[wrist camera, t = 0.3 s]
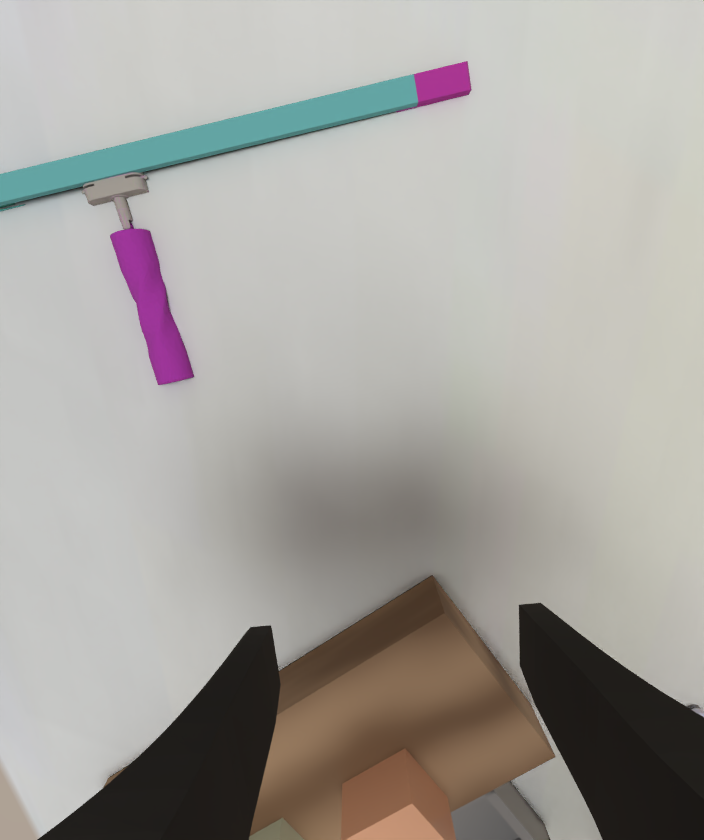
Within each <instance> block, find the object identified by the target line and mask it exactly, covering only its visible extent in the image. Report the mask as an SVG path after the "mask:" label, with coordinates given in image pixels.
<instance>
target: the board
mask: <svg viewBox="0 0 704 840" xmlns="http://www.w3.org/2000/svg"><path fill="white" fill-rule="evenodd" d="M279 677H280V683H281V686H280V694H279V702H278V710H277V717H276V724H275V729H274V733H273V738H272V742H271V746H270V750H269V755H268V759H267V763H266V767H265V771H264V776H263V780H262V784H261V788H260V792H259V797H258V801H257V805H256V809H255V813H254V818H253V822H252V827H251V832H250V836H251V835H253V834H255V833H256V832H258V831H260V830H262V829H263V828H265V827H267V826H269V825H270V824H272V823H274V822H276V821H278V820H279V819H281V818H283V819H284V820H285V821H286V822H287V823H288V824H289V825H290V826H291V827H292V828H293V829H294V830H295V831H296V832H297V833H298V834H299V835H300V836H301V837H302V838H303V839H304V840H341V821H342V784H343V783H345V782H346V781H348V780H350V779H352V778H353V777H355V776H357V775H359V774H360V773H362V772H364V771H366V770H368V769H369V768H371V767H373V766H375V765H376V764H378V763H380V762H382V761H383V760H385V759H387V758H389V757H390V756H392V755H394V754H396V753H398V752H399V751H401V750H403V749H406V750H407V751H408V752H409V753H410V754H411V756H412V757H413V758H414V759H415V760H416V761H417V763H418V764H419V765H420V766H421V767H422V768H423V769H424V771H425V772H426V773H427V774H428V775H429V776H430V778H431V779H432V780H433V781H434V782H435V783H436V784H437V786H438V787H439V788H440V789H441V790H442V791H443V793H444V794H445V795H446V796H447V797H448V802H449V807H450V812H453V811H454V810H456V809H458V808H460V807H462V806H464V805H466V804H468V803H469V802H471V801H473V800H475V799H477V798H479V797H481V796H483V795H485V794H486V793H488V792H490V791H492V790H494V789H496V788H498V787H500V786H501V785H503V784H505V783H507V782H509V781H511V780H513V779H515V778H516V777H518V776H520V775H522V774H524V773H526V772H528V771H530V770H531V769H533V768H535V767H537V766H539V765H541V764H543V763H545V762H546V761H548V760H550V759H552V758H554V757H555V754H554V752H553V750H552V748H551V746H550V744H549V742H548V740H547V738H546V736H545V733H544V731H543V729H542V727H541V725H540V723H539V721H538V719H537V717H536V715H535V712H534V710H533V708H532V706H531V704H530V703H529V702H528V700H527V699H526V698H525V696H524V695H523V694H522V692H521V691H520V690H519V688H518V687H517V686H516V684H515V683H514V682H513V681H512V679H511V678H510V677H509V675H508V674H507V673H506V671H505V670H504V669H503V667H502V666H501V665H500V663H499V662H498V661H497V660H496V658H495V657H494V656H493V654H492V653H491V652H490V650H489V649H488V648H487V646H486V645H485V644H484V642H483V641H482V640H481V639H480V637H479V636H478V635H477V633H476V632H475V631H474V629H473V628H472V627H471V625H470V624H469V623H468V621H467V620H466V619H465V617H464V616H463V615H462V614H461V612H460V611H459V610H458V608H457V607H456V606H455V604H454V603H453V602H452V600H451V599H450V598H449V596H448V595H447V594H446V593H445V591H444V590H443V589H442V587H441V586H440V585H439V583H438V582H437V581H436V579H435V578H434V577H433V575H432V576H431V577H429V578H427V579H426V580H424V581H423V582H421V583H419V584H418V585H416V586H415V587H413V588H412V589H410V590H408V591H407V592H405V593H404V594H402V595H400V596H399V597H397V598H396V599H394V600H392V601H391V602H389V603H388V604H386V605H384V606H383V607H381V608H380V609H378V610H376V611H375V612H373V613H372V614H370V615H368V616H367V617H365V618H364V619H362V620H360V621H359V622H357V623H356V624H354V625H352V626H351V627H349V628H348V629H346V630H344V631H343V632H341V633H340V634H338V635H336V636H335V637H333V638H332V639H330V640H328V641H327V642H325V643H324V644H322V645H320V646H319V647H317V648H316V649H314V650H312V651H311V652H309V653H308V654H306V655H304V656H303V657H301V658H300V659H298V660H296V661H295V662H293V663H292V664H290V665H288V666H287V667H285V668H284V669H282V670H280V671H279ZM127 767H128V766H127ZM125 768H126V767H125ZM125 768H124V769H125ZM124 769H122V770H121V771H119V772H117V773H116V774H114V775H113V776H111V777H109V778H108V780H107V782H106V784H105V786H106V785H107V784H108V783H110V782H111V781H112V780H113V779H114V778H115V777H116V776H117V775H119V774H120V773H121V772H122V771H123V770H124ZM105 786H104V787H105ZM104 787H103V788H104Z"/></svg>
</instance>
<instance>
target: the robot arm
mask: <svg viewBox="0 0 704 840" xmlns="http://www.w3.org/2000/svg"><path fill="white" fill-rule="evenodd" d="M519 633H520V667H521V669H522V672H523V675H524V677H525V680H526V683H527V685H528V688H529V690H530V693H531V695H532V698H533V700H534V703H535V705H536V707H537V709H538V711H539V713H540V715H541V717H542V719H543V721H544V723H545V725H546V726H547V728H548V730H549V732H550V734H551V736H552V738H553V740H554V742H555V744H556V746H557V748H558V750H559V752H560V753H561V755H562V757H563V759H564V761H565V763H566V765H567V767H568V769H569V771H570V773H571V775H572V776H573V778H574V780H575V782H576V784H577V786H578V788H579V790H580V792H581V794H582V796H583V798H584V800H585V802H586V804H587V806H588V808H589V810H590V812H591V814H592V816H593V818H594V820H595V823H596V825H597V827H598V830H599V832H600V834H601V837H602V839H603V840H704V711H703V710H702V709H700V708H694V709H689V708H688V707H686V706H684V705H683V704H681V703H679V702H678V701H676V700H674V699H673V698H671V697H669V696H668V695H666V694H664V693H663V692H661V691H660V690H658V689H657V688H655V687H653V686H652V685H650V684H649V683H647V682H646V681H644V680H643V679H641V678H640V677H638V676H637V675H636V674H634V673H633V672H631V671H630V670H628V669H627V668H625V667H624V666H622V665H621V664H620V663H618V662H617V661H615V660H614V659H613V658H611V657H610V656H609V655H607V654H606V653H604V652H603V651H602V650H600V649H599V648H598V647H596V646H595V645H594V644H592V643H591V642H590V641H588V640H587V639H586V638H585V637H583V636H582V635H581V634H579V633H578V632H577V631H576V630H574V629H573V628H572V627H570V626H569V625H568V624H567V623H565V622H564V621H563V620H562V619H560V618H559V617H558V616H557V615H555V614H554V613H553V612H552V611H550V610H549V609H548V608H546V607H545V606H544V605H543V604H541V603H535V604H523V605H519ZM280 686H281V683H280V677H279V671H278V665H277V659H276V653H275V646H274V640H273V634H272V628H271V626H260V627H250V629H249V630H248V631H247V632H246V633H245V635H244V636H243V637H242V639H241V640H240V641H239V643H238V644H237V645H236V647H235V648H234V649H233V651H232V652H231V653H230V654H229V656H228V657H227V658H226V660H225V661H224V662H223V664H222V665H221V666H220V667H219V669H218V670H217V671H216V672H215V674H214V675H213V676H212V677H211V679H210V680H209V681H208V682H207V684H206V685H205V686H204V687H203V689H202V690H201V691H200V692H199V693H198V694H197V696H196V697H195V698H194V699H193V700H192V701H191V703H190V704H189V705H188V706H187V707H186V708H185V709H184V711H183V712H182V713H181V714H180V715H179V716H178V717H177V718H176V720H175V721H174V722H173V723H172V724H171V725H170V726H169V727H168V728H167V729H166V730H165V731H164V732H163V733H162V734H161V735H160V736H159V737H158V738H157V739H156V740H155V741H154V742H153V743H152V744H151V745H150V746H149V747H148V748H147V749H146V750H145V751H144V752H143V753H142V754H141V755H140V756H139V757H138V758H137V759H136V760H134V761H133V762H132V763H131V764H130V765H129V766H128V767H126V768H125V769H124V770H123V771H122V772H121V773H120V774H119V775H117V776H116V777H115V778H114V779H113V780H112V781H111V782H110V783H108V784H107V785H106V786H105V787H104V788H103V789H102V790H100V791H99V792H98V793H97V794H96V795H94V796H93V797H92V798H91V799H89V800H88V801H87V802H86V803H85V804H83V805H82V806H81V807H80V808H78V809H77V810H76V811H75V812H73V813H72V814H71V815H69V816H68V817H67V818H66V819H64V820H63V821H62V822H60V823H59V824H58V825H56V826H55V827H54V828H53V829H51V830H50V831H49V832H47V833H46V834H44V835H43V836H42V837H40V838H39V839H38V840H249V837H250V832H251V827H252V822H253V818H254V813H255V809H256V805H257V801H258V797H259V792H260V788H261V784H262V780H263V776H264V771H265V767H266V763H267V759H268V755H269V750H270V746H271V742H272V738H273V733H274V729H275V724H276V717H277V710H278V702H279V694H280Z"/></svg>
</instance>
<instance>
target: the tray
mask: <svg viewBox="0 0 704 840" xmlns="http://www.w3.org/2000/svg"><path fill="white" fill-rule="evenodd" d="M451 817H452V822H453V827H454V832H455V837H456V840H550V837H549V835H548V832H547V830H546V827H545V825H544V823H543V822H542V820H541V819H540V818H539V817H538V816H537V814H536V813H535V812H534V811H533V809H532V808H531V807H530V806H529V804H528V803H527V802H526V801H525V800H524V798H523V797H522V796H521V795H520V793H519V792H518V791H517V790H516V789H515V787H514V786H513V785H512V784H511V782H510V781H509V782H507V783H505V784H503V785H501V786H500V787H498V788H496V789H494V790H492V791H490V792H488V793H486V794H485V795H483V796H481V797H479V798H477V799H475V800H473V801H471V802H469V803H468V804H466V805H464V806H462V807H460V808H458V809H456V810H454V811H453V812H451Z"/></svg>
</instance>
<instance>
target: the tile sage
mask: <svg viewBox="0 0 704 840" xmlns="http://www.w3.org/2000/svg"><path fill="white" fill-rule="evenodd" d="M249 840H304V839H303V838H302V837H301V836H300V835H299V834H298V833H297V832H296V831H295V830H294V829H293V828H292V827H291V826H290V825H289V824H288V823H287V822H286V821H285V820H284V819H283V818H281V819H279V820H278V821H276V822H274V823H272V824H270V825H269V826H267V827H265V828H263V829H262V830H260V831H258V832H256V833H255V834H253V835H251V836H250V837H249Z"/></svg>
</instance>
